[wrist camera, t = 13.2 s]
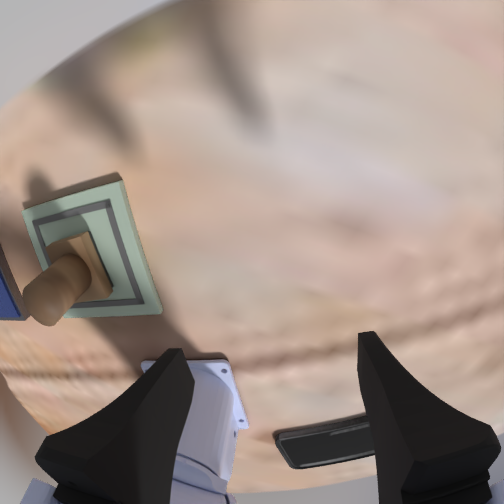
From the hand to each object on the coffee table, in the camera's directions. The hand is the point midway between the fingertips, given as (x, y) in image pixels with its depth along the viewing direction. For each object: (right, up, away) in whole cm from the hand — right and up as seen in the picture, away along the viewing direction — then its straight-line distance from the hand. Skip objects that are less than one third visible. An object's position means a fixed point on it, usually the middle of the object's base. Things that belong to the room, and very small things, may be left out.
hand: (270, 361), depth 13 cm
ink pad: (-27, +1, +13) cm, 30 cm away
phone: (+10, -15, +17) cm, 25 cm away
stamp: (-13, +4, +9) cm, 17 cm away
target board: (-13, +4, +10) cm, 17 cm away
